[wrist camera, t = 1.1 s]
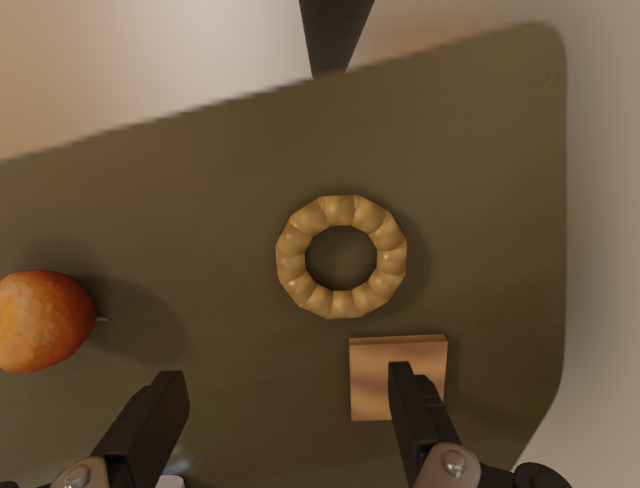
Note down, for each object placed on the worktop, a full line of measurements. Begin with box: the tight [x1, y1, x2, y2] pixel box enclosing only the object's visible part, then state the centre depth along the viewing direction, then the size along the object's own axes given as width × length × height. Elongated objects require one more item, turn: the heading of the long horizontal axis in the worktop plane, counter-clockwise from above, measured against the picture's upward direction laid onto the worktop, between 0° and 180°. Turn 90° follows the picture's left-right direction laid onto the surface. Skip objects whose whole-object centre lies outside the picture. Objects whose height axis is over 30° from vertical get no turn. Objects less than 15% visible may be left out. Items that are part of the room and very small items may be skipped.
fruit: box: [0, 270, 108, 373], centre depth 28 cm, size 8×8×8 cm
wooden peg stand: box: [349, 334, 448, 421], centre depth 28 cm, size 9×9×11 cm
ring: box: [275, 195, 407, 319], centre depth 28 cm, size 11×11×2 cm
